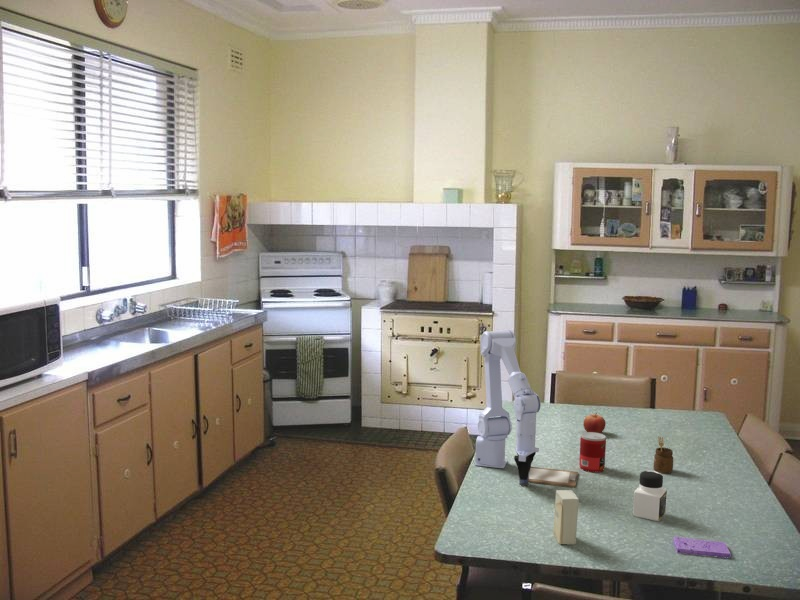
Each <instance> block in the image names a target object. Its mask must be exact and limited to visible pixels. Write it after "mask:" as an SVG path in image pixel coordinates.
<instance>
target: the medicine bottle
mask: <svg viewBox="0 0 800 600" xmlns="http://www.w3.org/2000/svg"><path fill="white" fill-rule="evenodd" d="M663 481H664V475H663V473H659V472H656V471H655V470H643V471H641V472H640V473H639V484H638V485H639V486H638V487H637V488H636V489H635V490H634V492H633V509H632V515H633V517H637V518H641V519H645V520H650V521H654V522H659V521H661V520H662V518H663V516H665V514H666V510H667V509H666V505H667V489H666V488H663V484H664V483H663Z"/></svg>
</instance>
